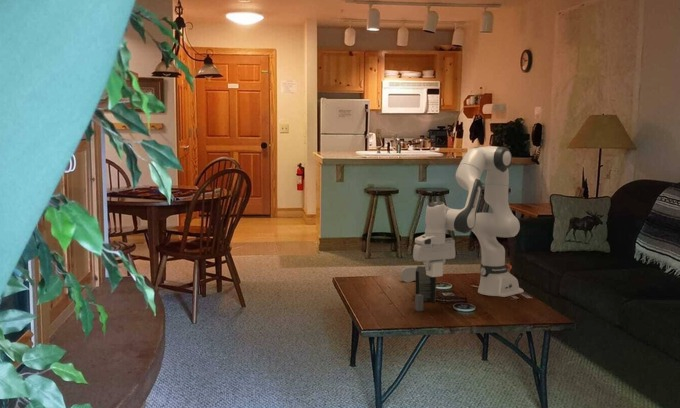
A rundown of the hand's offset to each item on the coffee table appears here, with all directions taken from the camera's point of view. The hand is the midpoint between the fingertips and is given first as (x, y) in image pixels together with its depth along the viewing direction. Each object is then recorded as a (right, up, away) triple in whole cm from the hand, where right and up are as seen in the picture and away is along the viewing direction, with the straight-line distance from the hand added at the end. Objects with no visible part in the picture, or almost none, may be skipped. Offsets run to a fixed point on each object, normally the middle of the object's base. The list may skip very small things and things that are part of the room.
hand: (434, 269), depth 273 cm
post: (-6, -18, +2) cm, 19 cm away
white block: (0, -2, 0) cm, 2 cm away
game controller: (0, -12, +55) cm, 56 cm away
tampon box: (-1, -16, +21) cm, 26 cm away
